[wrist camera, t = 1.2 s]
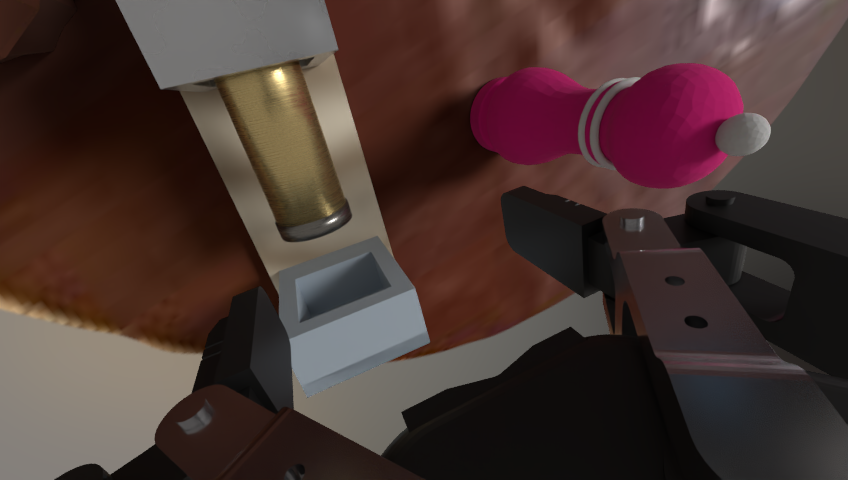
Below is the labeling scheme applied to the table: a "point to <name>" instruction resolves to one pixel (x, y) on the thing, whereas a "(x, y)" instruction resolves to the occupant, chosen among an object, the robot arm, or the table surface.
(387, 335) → the socket
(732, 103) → the pepper mill
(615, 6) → the table surface
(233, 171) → the board
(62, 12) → the muffin
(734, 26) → the table surface
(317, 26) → the matte grey cuboid
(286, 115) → the tube
